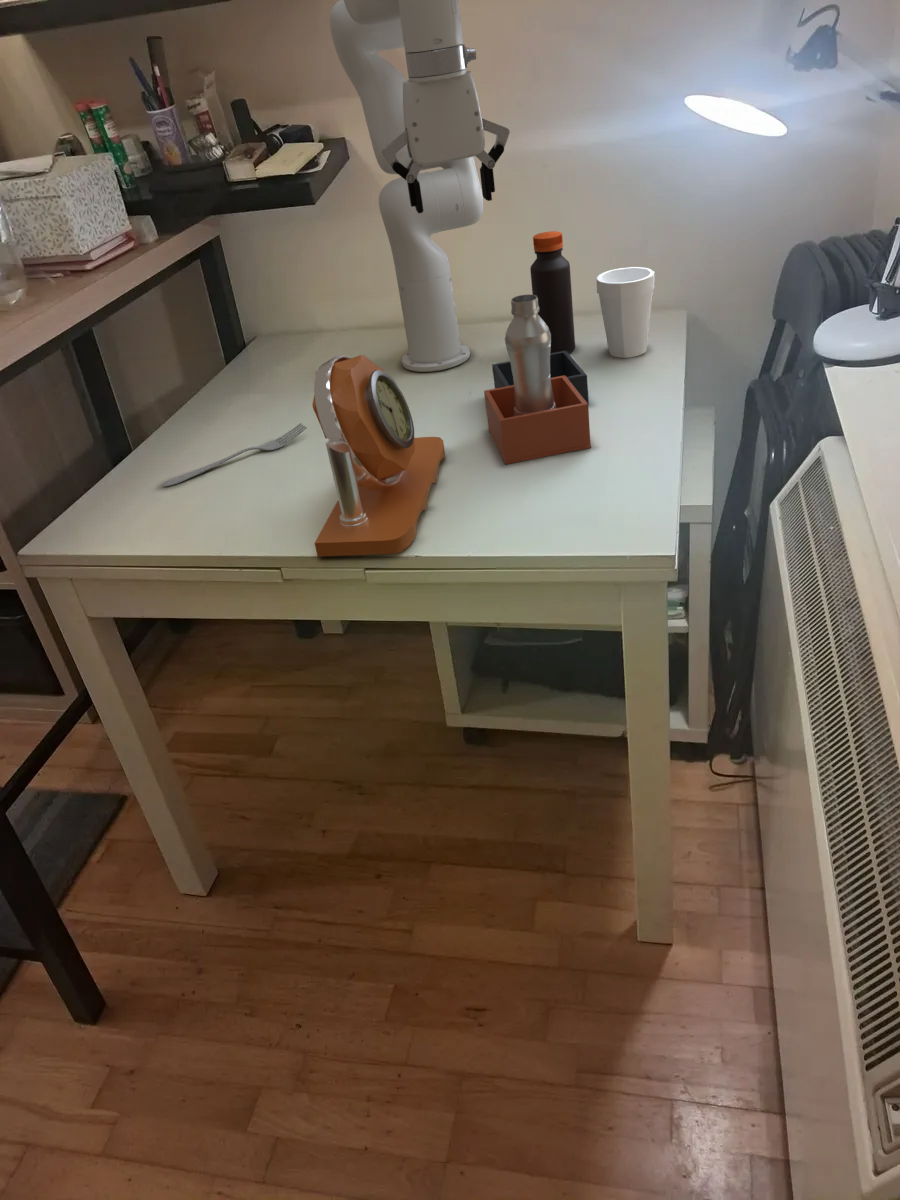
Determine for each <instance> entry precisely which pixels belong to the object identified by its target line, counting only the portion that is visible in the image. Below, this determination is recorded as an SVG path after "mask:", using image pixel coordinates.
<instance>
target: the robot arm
mask: <svg viewBox="0 0 900 1200" xmlns="http://www.w3.org/2000/svg"><path fill="white" fill-rule="evenodd" d="M329 29H330V34H331V38H332V42H333V46H334V50H335V52H336V54H337V57H338V59H339V62H340V64H341V66H342V68H343V70H344V72H345V74H346V76H347V77H348V79H349V80H350V82H351V84H352V85H353V87H354V89H355V91H356V93H357V95H358V98H359V99H360V103H361V106H362V111H363V115H364V119H365V122H366V126H367V129H368V135H369V139H370V141H371V146H372V149H373V153H374V156H375V159H376V162H377V164H378V166H379V168H380V169H381V170H382V171H383V172H384V173H386V174H388V175H399V177H397V178H394V179H393V180H391V181H390V180H389V182H387V183H386V184H385V185H384V186H383V187H382V188H381V190H380V192H379V196H378V207H379V212H380V216H381V220H382V222H383V226H384V230H385V231H386V235H387V238H388V241H389V245H390V251H391V255H392V260H393V264H394V265H393V266H394V270H395V276H396V277H395V278H396V282H397V287H398V295H399V301H400V306H401V312H402V318H403V324H404V330H405V337H406V342H407V347H408V352H406V353H405V354H404V355H403V356H402V357H401V363H402V366H403V368H405V369H406V370H408V371H412V372H418V373H419V372H421V373H427V372H438V371H444V370H447V369H452V368H454V367H457V366H459V365H461V364H463V363H465V362H466V361H467V360H468V359H469V358H470V356H471V350H470V347H469V346H467V345H466V344H464V343H461V341H460V333H459V325H458V319H457V309H456V303H455V295H454V288H453V287H454V286H453V281H452V274H451V266H450V261H449V258H448V255H447V253H446V251H445V250H444V249H443V248H442V247H441V246H440V245H438V244H437V243H436V242H435V241H433V239H432V238H431V236H432V235H434V234H438V233H441V232H445V231H451V230H455V229H461V228H466V227H469V226H472V225H474V224H476V223H478V222H479V221H480V220H481V218H482V217H483V213H484V200H486V201H487V202H490V201H493V196H492V195H493V194H492V193H495V192H496V185H495V177H494V176H495V175H494V168H495V166H496V163H497V162H498V160H499V159H500V158H501V156H502V155H503V154H504V152H505V147H506V145H507V141H508V140H509V136H510V129H509V128H507V127H506V126H503V125H501V124H498V123H496V122H493V121H492V120H491V121H490V120H488V119H485V118H483V117H482V112H481V107H480V102H479V95H478V91H477V87H476V82H475V80H474V77H473V73H472V71H471V70H467V68H468V64H469V62H471V61H476V60H477V51H476V48H475V47H472V48H470V47H467V46H466V45H465V44H464V36H463V26H462V18H461V9H460V0H338V1H336V3H335V4H334V5H333V6H332V8H331V10H330V14H329ZM402 48H404V55H405V63H406V70H407V77H408V80H407V78H406V77H405V76H404V74H402V72H401V71H400V70H399V69H397V67H396V66H394V65H393V64H392V63H391V62H390V61H388V60H386V59H385V58H383V57H382V56H380V55H379V53H378V52H382V51H389V50H397V49H402ZM485 132H487V133H490V134H493V135H495V136H496V137H495V142H494V144H493V146H492V147H491V149H490V150H489V151H488V153H487V152H486V150H485V148H486V138H485ZM474 157H476V159H478V160H479V161H480V163H481V166H480V168H479V174H478V169H477V166H476V162H475V158H474ZM437 168H441V169H437ZM430 169H436V170H432V171H426V170H430ZM420 171H424V172H420ZM479 175H480V177H479Z"/></svg>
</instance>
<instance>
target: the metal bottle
mask: <svg viewBox="0 0 900 1200" xmlns="http://www.w3.org/2000/svg"><path fill="white" fill-rule="evenodd" d="M510 304H511V309H510V314H511V315H512V316H513V318H512V319H511V321H510V323H509V325H508V327H507V329H506V331H505V335H504V342H505V348H506V352H507V356H508V359H509V361H510V364H511V369H512V375H513V381H514V400H515V407H514V416H519V415H524V414H529V413H535V412H540V411H545V410H550V409H555V408H556V405H555V402H554V397H553V391H552V385H551V375H550V351H551V333H550V331H549V328H548V326H547V325H546V323H545V322H544V321H543V320H542V319H541V317H540V316H539V315H538V313H537V312H539V306H538V298H537V296H536V295H533V294H530V293H529V294H520V295H516V296H514V297H512V298H511V299H510Z"/></svg>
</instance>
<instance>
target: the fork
mask: <svg viewBox="0 0 900 1200" xmlns="http://www.w3.org/2000/svg"><path fill="white" fill-rule="evenodd" d="M307 428H308V427H307V426H305V425H304V424H302V423H299V424H297V425H295V427H293V428H292V429H290V430H289V431H287V432H286V433H284V434H283V435H281V436H279V437H278V438H276V439H273V440H271V441H270V442H268V443H266V444H263V445H258V446H251V447H246V448H245V449H241V450H239V451H237V452H235V453H233V454H231V455H229V456H226V457H224V458H221V459H220V460H217V461H215V462H212V463H210V464H207V465H205V466H203V467H199V468H197V469H195V470H192V471H190V472H186V473H184V474H181V475H179V476H176V477H174V478H171V479H169V480H168V481H165V482H164V483H163V485H162V486H163V487H164V488H169V487H171V486H175V485H179V484H180V483H182V482H185V481H187V480H189V479H191V478H194V477H196V476H198V475H200V474H202V473H206V472H207V471H209V470H212V469H213V468H215V467H218V466H220V465H222V464H223V463H225V462H227V461H230V460H231V459H233V458H235V457H237V456H239V455H241V454H243V453H246V452H248V451H251V450H253V451H254V450H261V451H275V450H278V449H280V448H282V447H284V446H285V445H287V444H288V443H290V442H292V441H293V440H294V439H295V438H296V437H298V436H299V435H301V434H302V433H303V432H304V431H305V430H306V429H307Z"/></svg>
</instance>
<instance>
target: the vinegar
mask: <svg viewBox="0 0 900 1200" xmlns="http://www.w3.org/2000/svg"><path fill="white" fill-rule="evenodd" d="M563 239H564V238H563V233H562V232H561V231H557V230H553V231H552V230H551V231H544V232H540V233H539V232H538V233H537V234H534V235H533V237H532V243H533V251H534V255H536V258H535V260H534V261H533V263H532V264H531V266H530V280H531V290H532V291H531V293H532V294H531V295H536V296H537V298H538V306H539V312H537V313H538V315H539V316H540V317H541V319H542V320H543V321H544V322H545V323H546V325H547V326H548V328H549V331H550V333H551V351H550V353H555V352H561V351H567V352H568V354H569V355H570V354H571V353H572V352H574V351H575V349H576V338H575V337H576V336H575V323H574V322H575V321H574V307H573V306H574V305H573V295H572V292H573V291H572V280H571V279H572V277H571V265H570V262H569V260H568V259H567V258H566V257H564V256H563V255H562V251H563V250H564V244H563V243H564V242H563Z"/></svg>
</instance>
